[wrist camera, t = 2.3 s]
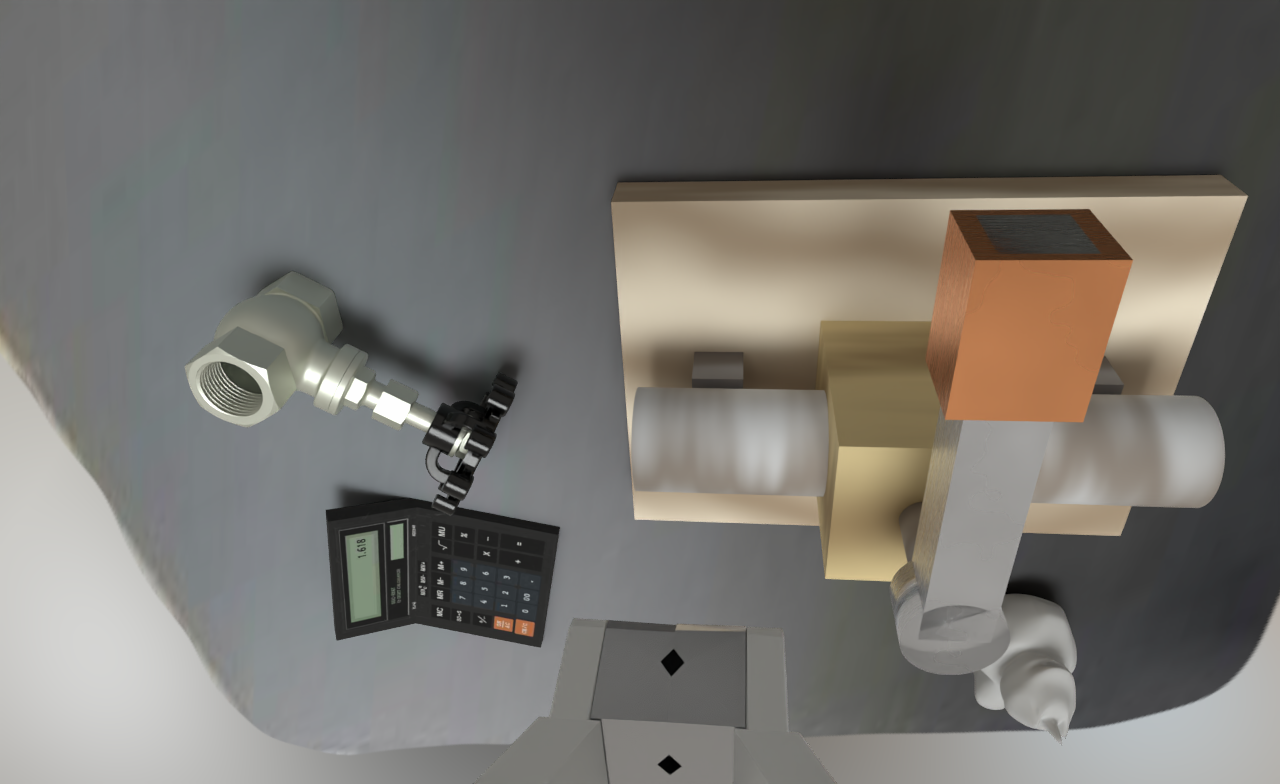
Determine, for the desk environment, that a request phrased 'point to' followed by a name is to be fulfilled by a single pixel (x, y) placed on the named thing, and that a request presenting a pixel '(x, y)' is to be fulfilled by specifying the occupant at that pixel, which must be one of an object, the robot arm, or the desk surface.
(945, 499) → the valve lever
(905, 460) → the valve stand
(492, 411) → the valve
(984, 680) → the white meringue swirl
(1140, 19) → the desk surface
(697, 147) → the desk surface
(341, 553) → the calculator
